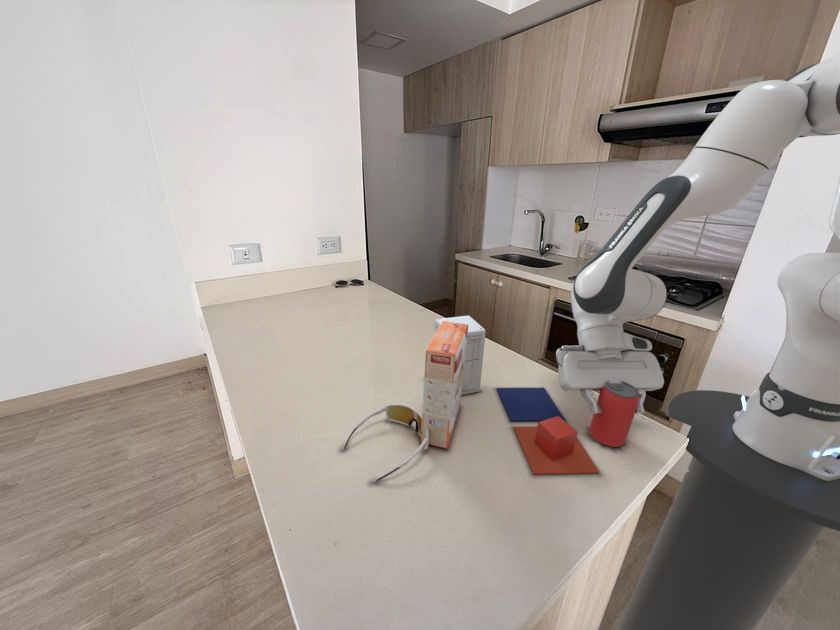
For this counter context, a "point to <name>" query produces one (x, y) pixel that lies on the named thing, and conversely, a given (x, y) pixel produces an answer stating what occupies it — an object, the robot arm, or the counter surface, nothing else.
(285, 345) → the counter surface
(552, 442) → the red block
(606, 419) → the beer can
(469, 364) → the supplement box
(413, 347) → the counter surface
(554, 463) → the terracotta mat
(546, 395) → the navy mat
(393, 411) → the sunglasses
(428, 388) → the cracker box
